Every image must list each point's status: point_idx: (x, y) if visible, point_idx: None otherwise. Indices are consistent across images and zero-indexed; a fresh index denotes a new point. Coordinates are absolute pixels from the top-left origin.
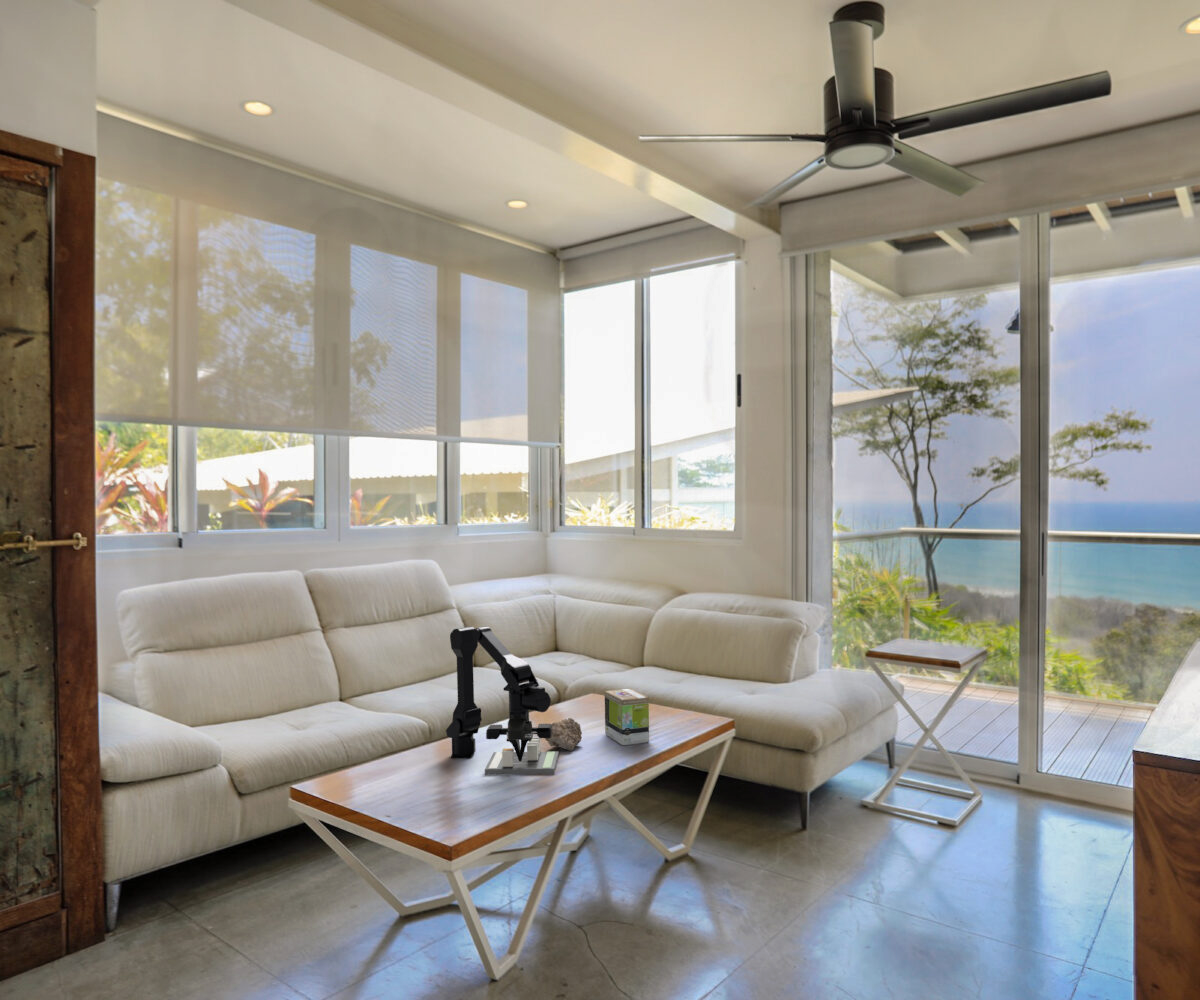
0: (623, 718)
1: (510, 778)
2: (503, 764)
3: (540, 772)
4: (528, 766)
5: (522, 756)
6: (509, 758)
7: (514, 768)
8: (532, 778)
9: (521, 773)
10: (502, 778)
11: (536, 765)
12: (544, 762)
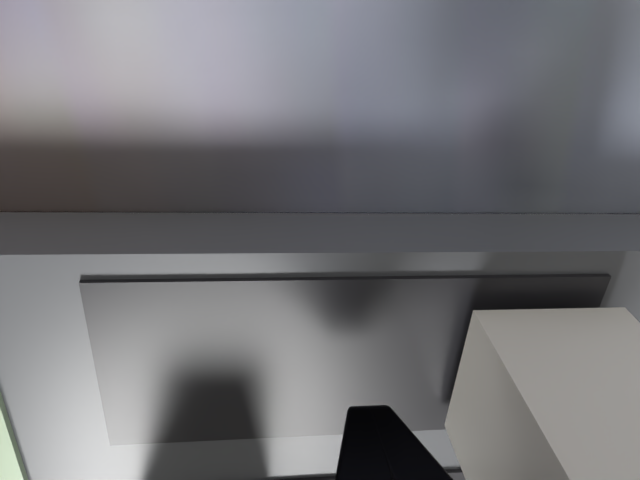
0: None
1: (488, 34)
2: (626, 330)
3: (17, 221)
4: (225, 338)
5: (337, 469)
6: (585, 405)
7: (440, 273)
8: (108, 2)
9: (322, 217)
10: (609, 44)
11: (105, 376)
12: (13, 472)
